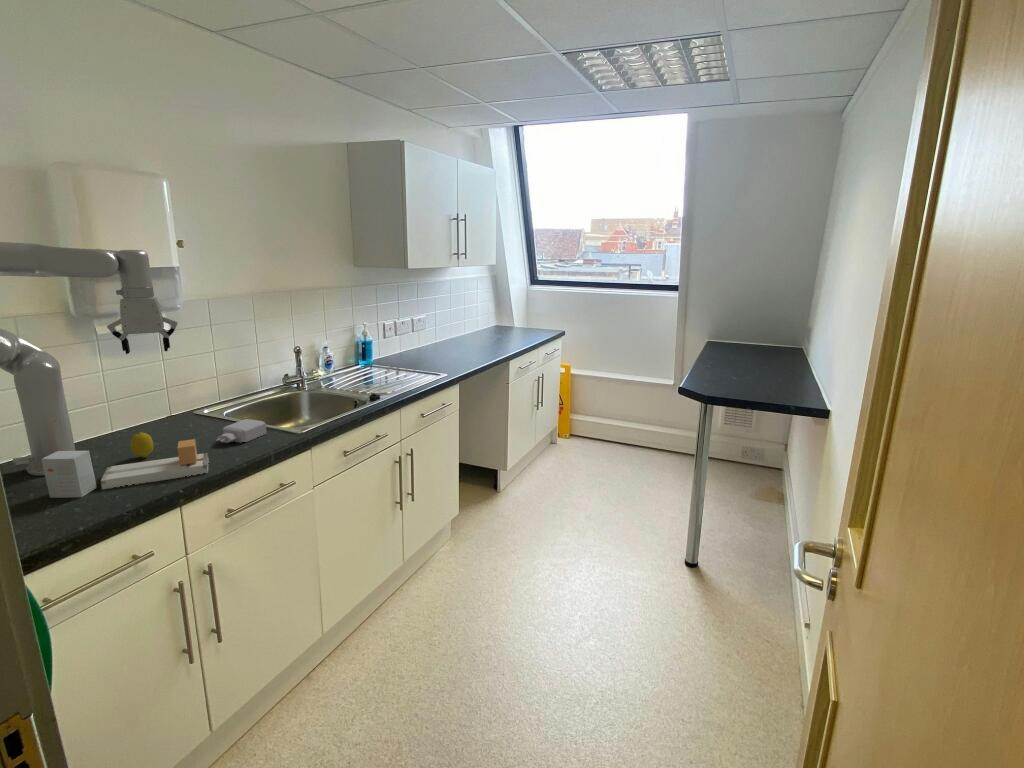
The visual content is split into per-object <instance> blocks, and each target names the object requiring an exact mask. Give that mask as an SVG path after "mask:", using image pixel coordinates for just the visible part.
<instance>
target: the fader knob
mask: <svg viewBox="0 0 1024 768" xmlns="http://www.w3.org/2000/svg"><path fill="white" fill-rule="evenodd" d="M176 448H177V457H179V463H180V465H185V464H192V463H197V454H198V450H197V443H196V439H195V438H192V439H187V440H179V441H178V443H177V447H176Z"/></svg>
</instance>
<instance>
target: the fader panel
mask: <svg viewBox="0 0 1024 768" xmlns="http://www.w3.org/2000/svg"><path fill="white" fill-rule="evenodd" d="M209 462H210V460H209V454H208V452H205V453H204V452H203V453H197V463H192V464H185V465H180V463H179V456H175V457H169V458H162V459H154V460H147V461H140V462H131V463H126V464H125V463H123V464H119V465H118V464H117V465H111V466H107V467H106V469H105V471H104V473H103V475H102V477H101V479H100V483H101V484H100V485H101V490H108V489H115V488H114V487H116V488H121V487H120V486H122V487H126V486H125V485H128V486H133V485H132V484H135V485H141V484H146V483H147V482H148V483H155V482H160V481H165V480H173V479H179V478H185V476H187V477H192V476H191V475H193V476H198V475H197V474H200V475H204V474H203V473H206V474H209V464H210V463H209ZM208 463H209V464H208ZM140 483H141V484H140ZM148 483H147V484H148Z"/></svg>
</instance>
